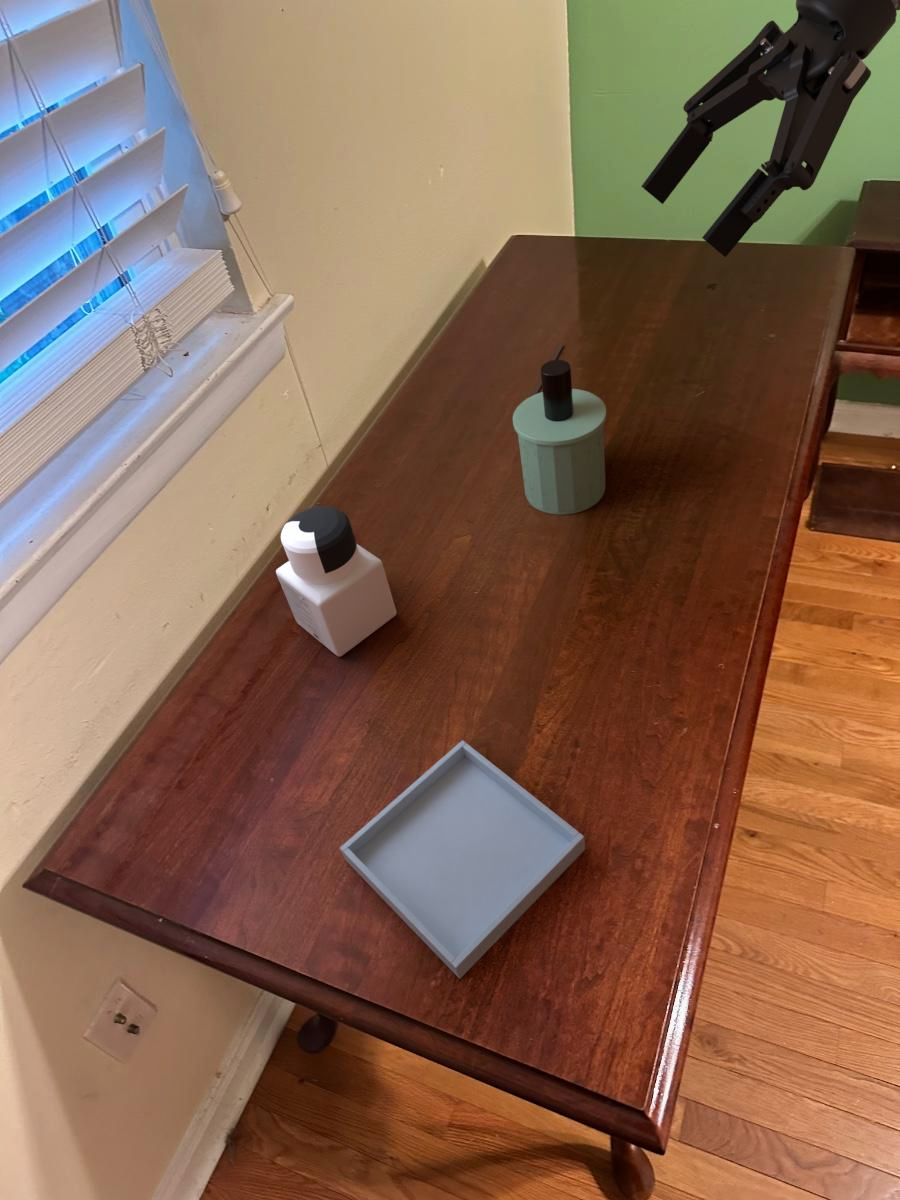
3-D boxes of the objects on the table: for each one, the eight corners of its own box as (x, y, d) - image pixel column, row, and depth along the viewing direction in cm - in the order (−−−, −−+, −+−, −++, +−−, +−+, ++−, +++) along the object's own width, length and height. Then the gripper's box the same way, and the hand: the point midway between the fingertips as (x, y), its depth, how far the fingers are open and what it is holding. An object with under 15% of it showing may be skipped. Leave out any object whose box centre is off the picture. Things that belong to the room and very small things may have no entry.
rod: (515, 426, 107) (514, 422, 107) (558, 349, 119) (558, 344, 119) (520, 427, 107) (520, 422, 107) (563, 349, 119) (563, 344, 118)
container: (353, 582, 91) (321, 486, 82) (398, 615, 87) (370, 517, 78) (295, 623, 88) (256, 528, 79) (339, 659, 84) (303, 563, 74)
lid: (625, 415, 90) (625, 358, 85) (563, 462, 86) (559, 405, 81) (556, 388, 95) (552, 333, 91) (494, 430, 91) (487, 375, 87)
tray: (585, 849, 66) (584, 836, 64) (459, 979, 60) (455, 968, 59) (465, 753, 74) (462, 739, 72) (345, 860, 68) (339, 847, 67)
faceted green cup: (621, 483, 96) (620, 411, 89) (568, 525, 92) (562, 454, 86) (561, 456, 101) (556, 386, 94) (509, 494, 98) (499, 425, 91)
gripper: (991, 47, 61) (771, 296, 71) (810, -8, 79) (654, 197, 89) (940, -25, 57) (715, 249, 67) (762, -66, 75) (604, 155, 85)
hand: (680, 220), depth 78 cm, fingers open, 13 cm apart
